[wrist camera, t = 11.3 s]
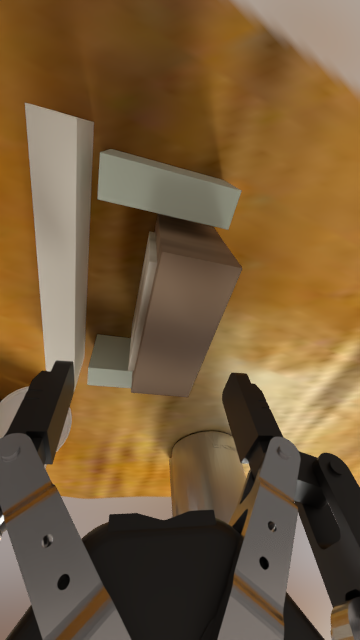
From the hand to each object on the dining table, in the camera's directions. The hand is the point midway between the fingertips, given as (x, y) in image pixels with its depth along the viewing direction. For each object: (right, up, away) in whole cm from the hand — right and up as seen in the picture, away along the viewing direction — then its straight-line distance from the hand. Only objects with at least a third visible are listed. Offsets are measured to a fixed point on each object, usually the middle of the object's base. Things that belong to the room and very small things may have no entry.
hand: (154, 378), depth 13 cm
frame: (0, +6, +7) cm, 9 cm away
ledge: (-3, +6, +6) cm, 9 cm away
